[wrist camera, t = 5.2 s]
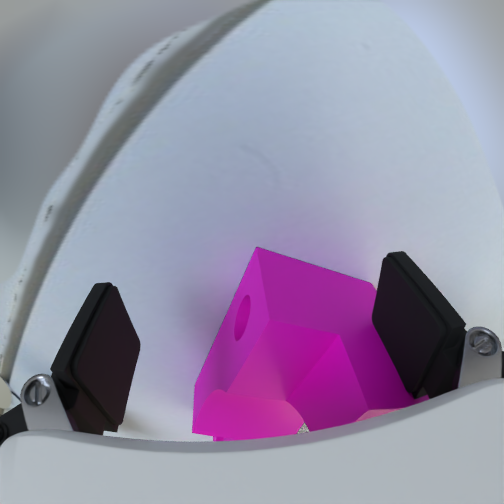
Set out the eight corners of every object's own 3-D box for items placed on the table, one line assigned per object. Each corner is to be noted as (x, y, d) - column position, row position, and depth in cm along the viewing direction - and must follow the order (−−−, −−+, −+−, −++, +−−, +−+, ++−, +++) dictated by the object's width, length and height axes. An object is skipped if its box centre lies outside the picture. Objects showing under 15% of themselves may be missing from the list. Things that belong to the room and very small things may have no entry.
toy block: (256, 246, 12) (285, 407, 6) (371, 283, 14) (443, 404, 7) (181, 415, 19) (176, 505, 12) (258, 427, 20) (267, 510, 14)
